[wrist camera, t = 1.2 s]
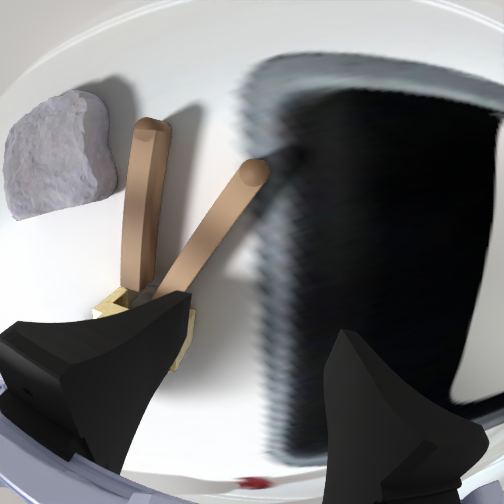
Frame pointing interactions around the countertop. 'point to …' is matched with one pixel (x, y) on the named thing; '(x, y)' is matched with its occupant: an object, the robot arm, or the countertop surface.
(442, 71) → the countertop surface
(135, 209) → the tongs fixed
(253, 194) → the tong arm
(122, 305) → the yellow block
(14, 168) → the stone block
